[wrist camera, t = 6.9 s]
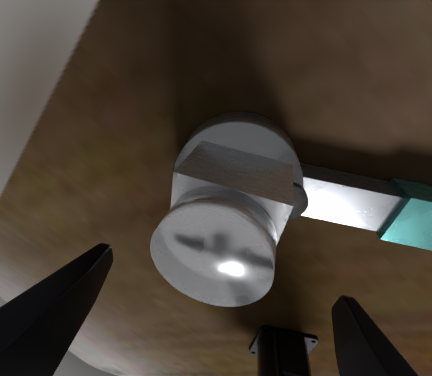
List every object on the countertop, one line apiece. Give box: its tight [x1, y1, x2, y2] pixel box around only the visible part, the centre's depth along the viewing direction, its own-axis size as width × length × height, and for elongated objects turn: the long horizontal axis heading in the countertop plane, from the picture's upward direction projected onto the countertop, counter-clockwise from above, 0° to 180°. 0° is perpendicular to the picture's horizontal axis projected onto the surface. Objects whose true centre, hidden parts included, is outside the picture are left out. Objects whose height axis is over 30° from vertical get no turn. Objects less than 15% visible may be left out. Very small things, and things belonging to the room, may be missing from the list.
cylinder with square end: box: [150, 140, 293, 307], centre depth 12 cm, size 5×5×6 cm
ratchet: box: [174, 112, 432, 250], centre depth 15 cm, size 20×8×6 cm, turn 81°
